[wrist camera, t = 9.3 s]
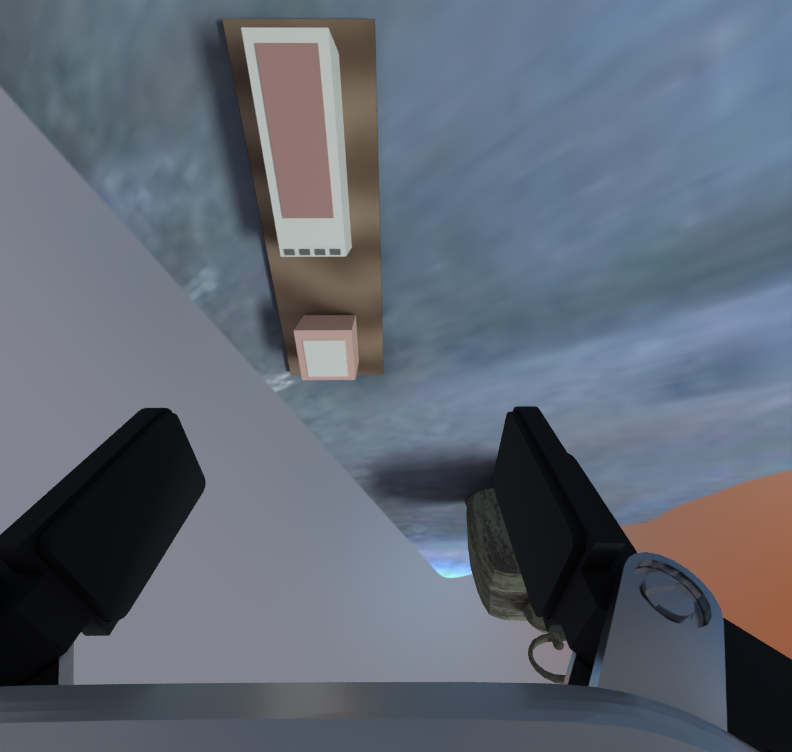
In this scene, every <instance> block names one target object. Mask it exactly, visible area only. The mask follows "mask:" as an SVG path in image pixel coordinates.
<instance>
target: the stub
mask: <svg viewBox="0 0 792 752" xmlns="http://www.w3.org/2000/svg"><path fill="white" fill-rule="evenodd" d="M294 336H295V342H296V348H297V354H298V359H299V365H300V371H301V377H302V380H355V379H356V374H357V368H358V363H359V355H358V340H357V325H356V315H304V316H303V317H302V319H301V320H300V322H299V323H298V325H297V326H296V328H295V329H294Z"/></svg>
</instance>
